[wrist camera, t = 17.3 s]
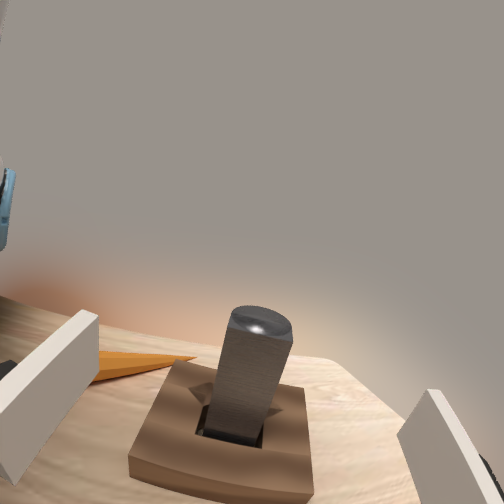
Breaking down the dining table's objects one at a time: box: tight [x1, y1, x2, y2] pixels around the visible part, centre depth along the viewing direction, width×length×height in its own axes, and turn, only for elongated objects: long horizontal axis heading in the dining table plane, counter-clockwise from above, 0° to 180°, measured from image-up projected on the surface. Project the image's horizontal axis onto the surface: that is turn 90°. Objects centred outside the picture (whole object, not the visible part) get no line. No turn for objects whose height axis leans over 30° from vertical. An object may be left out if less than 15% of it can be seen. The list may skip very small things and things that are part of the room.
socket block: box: [128, 359, 314, 504], centre depth 29 cm, size 16×16×4 cm
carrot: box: [92, 351, 197, 381], centre depth 37 cm, size 20×4×4 cm, turn 130°
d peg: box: [202, 306, 293, 447], centre depth 27 cm, size 5×5×16 cm
